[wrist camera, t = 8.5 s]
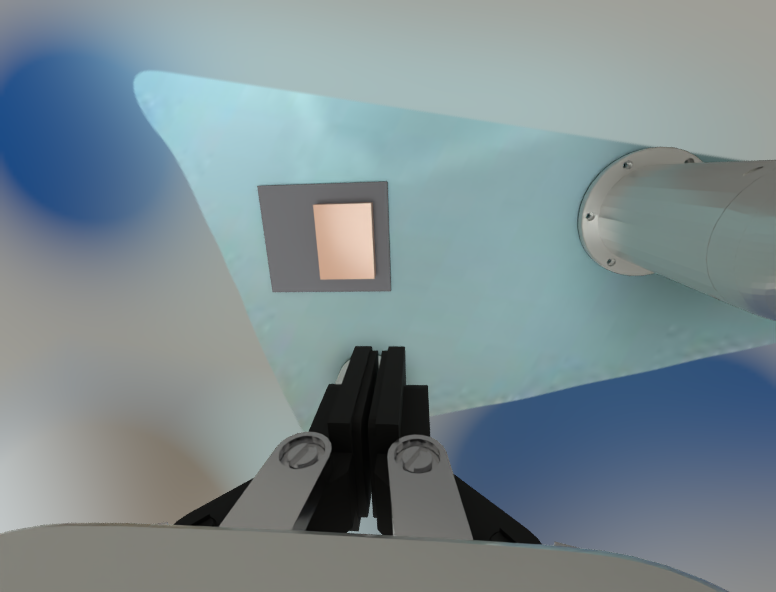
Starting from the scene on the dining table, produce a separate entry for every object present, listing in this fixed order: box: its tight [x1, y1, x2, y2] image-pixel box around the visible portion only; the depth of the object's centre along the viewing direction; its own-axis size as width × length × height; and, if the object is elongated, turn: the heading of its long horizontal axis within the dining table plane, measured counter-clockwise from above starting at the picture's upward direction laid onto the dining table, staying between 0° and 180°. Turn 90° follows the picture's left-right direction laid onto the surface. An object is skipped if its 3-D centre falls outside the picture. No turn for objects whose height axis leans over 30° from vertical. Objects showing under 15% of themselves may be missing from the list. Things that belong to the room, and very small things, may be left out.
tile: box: [313, 202, 376, 280], centre depth 39 cm, size 2×8×6 cm
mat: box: [257, 182, 391, 292], centre depth 40 cm, size 14×12×1 cm
